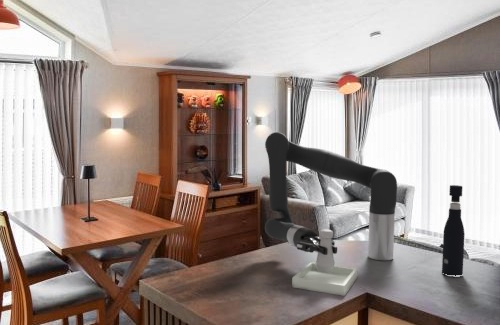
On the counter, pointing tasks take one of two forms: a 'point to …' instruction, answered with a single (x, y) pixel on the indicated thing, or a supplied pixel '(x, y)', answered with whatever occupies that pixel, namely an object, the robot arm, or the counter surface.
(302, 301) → the counter surface
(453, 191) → the black bottle
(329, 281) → the tray
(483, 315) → the counter surface
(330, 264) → the salt shaker
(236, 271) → the counter surface
